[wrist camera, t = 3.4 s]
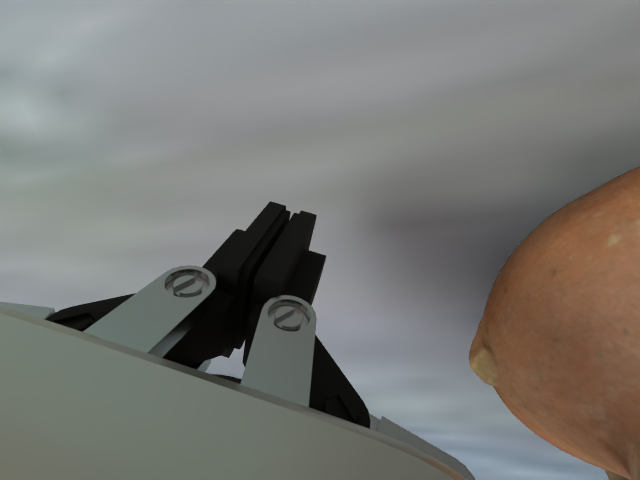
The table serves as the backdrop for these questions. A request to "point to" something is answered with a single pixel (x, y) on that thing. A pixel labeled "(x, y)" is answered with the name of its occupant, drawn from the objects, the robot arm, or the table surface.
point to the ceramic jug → (573, 329)
